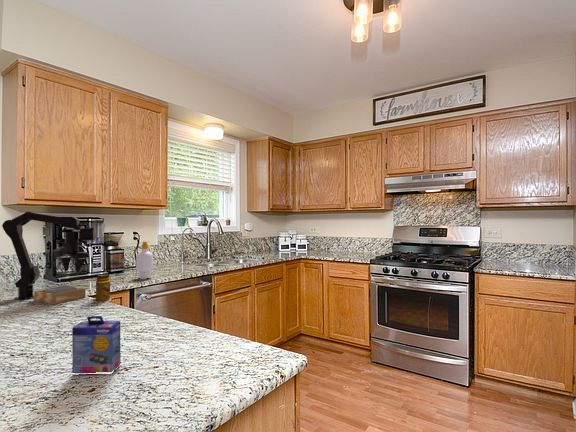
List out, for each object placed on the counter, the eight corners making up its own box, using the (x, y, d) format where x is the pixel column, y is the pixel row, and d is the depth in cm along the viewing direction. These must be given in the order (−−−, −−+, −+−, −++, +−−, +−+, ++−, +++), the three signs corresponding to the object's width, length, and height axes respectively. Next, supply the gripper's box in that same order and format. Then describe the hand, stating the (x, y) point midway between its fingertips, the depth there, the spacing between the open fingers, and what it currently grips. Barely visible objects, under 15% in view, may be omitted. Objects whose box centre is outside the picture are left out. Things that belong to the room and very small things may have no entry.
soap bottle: (156, 278, 224) (156, 241, 224) (142, 280, 215) (142, 242, 215) (146, 276, 229) (146, 241, 229) (132, 278, 220) (132, 241, 221)
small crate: (54, 300, 158) (54, 289, 158) (45, 299, 161) (45, 288, 161) (74, 295, 168) (74, 285, 168) (66, 294, 170) (66, 284, 170)
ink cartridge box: (70, 377, 83) (70, 318, 83) (82, 367, 89) (82, 311, 89) (112, 375, 84) (112, 317, 84) (121, 365, 90) (121, 311, 90)
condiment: (111, 300, 161) (111, 275, 162) (91, 303, 157) (91, 277, 157) (110, 297, 168) (110, 273, 168) (90, 300, 163) (90, 275, 163)
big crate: (34, 301, 160) (34, 291, 160) (65, 294, 174) (65, 285, 174) (54, 304, 154) (54, 294, 154) (85, 297, 168) (85, 288, 168)
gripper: (44, 241, 170) (44, 272, 170) (67, 242, 162) (67, 275, 162) (66, 240, 180) (66, 269, 180) (89, 241, 172) (89, 271, 172)
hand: (71, 271), depth 173 cm, fingers open, 9 cm apart
